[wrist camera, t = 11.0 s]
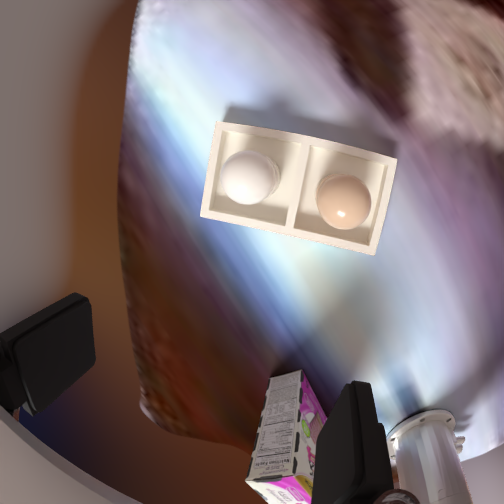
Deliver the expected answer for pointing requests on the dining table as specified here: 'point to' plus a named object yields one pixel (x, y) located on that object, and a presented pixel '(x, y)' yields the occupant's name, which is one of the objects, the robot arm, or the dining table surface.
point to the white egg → (249, 177)
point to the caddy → (298, 185)
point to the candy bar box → (286, 441)
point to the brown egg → (343, 201)
